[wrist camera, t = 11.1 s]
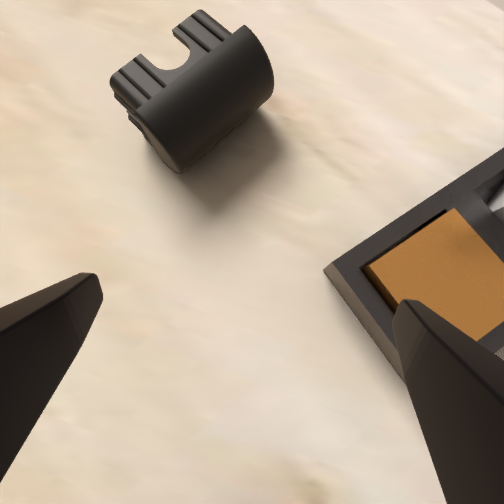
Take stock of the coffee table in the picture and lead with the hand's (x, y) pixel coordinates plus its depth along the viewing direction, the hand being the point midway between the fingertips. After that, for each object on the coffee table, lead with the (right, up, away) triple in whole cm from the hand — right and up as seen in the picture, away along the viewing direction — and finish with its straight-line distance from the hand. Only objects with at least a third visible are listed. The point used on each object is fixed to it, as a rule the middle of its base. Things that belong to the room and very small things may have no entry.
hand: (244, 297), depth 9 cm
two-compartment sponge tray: (+17, +1, +14) cm, 22 cm away
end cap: (-4, +12, +17) cm, 22 cm away
